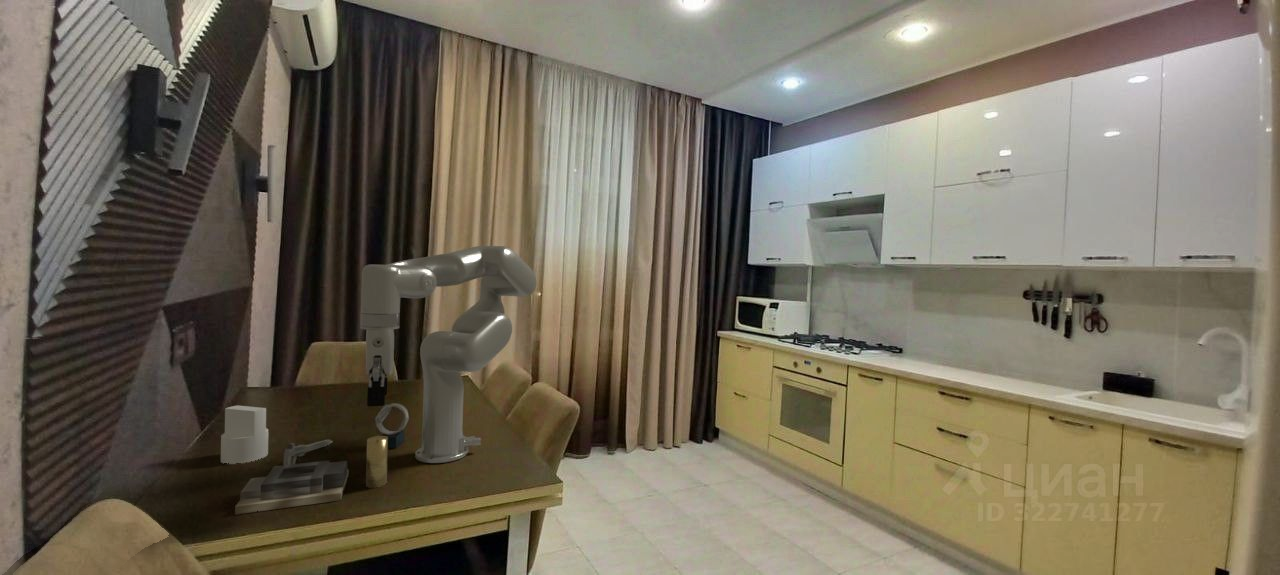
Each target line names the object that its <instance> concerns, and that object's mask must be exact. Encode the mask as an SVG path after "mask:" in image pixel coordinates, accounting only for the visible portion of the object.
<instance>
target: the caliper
mask: <svg viewBox="0 0 1280 575" xmlns="http://www.w3.org/2000/svg"><path fill="white" fill-rule="evenodd" d="M333 442H334V441H333V440H331V439H324V440H320V441H317V442H316V441H315V442H312V443H309V444H300V445H296V442H290V443H287V444H286V448H285V449H284V453H283V459H282V460H283V463H282V464H283V465H291V464H296V462H297V461H296V460H297V458H302V457H305V456H306V453H308V452H311V451H314V450H319V449H321V448H324V447H325V448H326V447H328V446H329V445H330V444H332V443H333ZM327 445H328V446H327Z"/></svg>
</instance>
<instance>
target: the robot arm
mask: <svg viewBox="0 0 1280 575" xmlns="http://www.w3.org/2000/svg"><path fill="white" fill-rule="evenodd" d="M479 278H481V279H480V295H479V298H478V301H476V302H475V304H474V305H472V306H471V307H469V308H468V309H467V310H465V312H463V313H462V314H460V316H459V317H457V318H456V320H455V321H454V323H453V324H452V327H451V330H448V331H447V330H438V331H434V332H431V333H429V334H428V335H426V336H425V337H424V338H423V340H422V342H421V344H420V347H419V348H420V350H419V351H420V352H419V354H420V361H421V366H422V374H423V394H422V396H423V398H422V402H423V403H422V433H421V435H422V436H421V447H419V448H418V449H416V450H415V452H414V458H415V459H416V460H417V461H419V462H421V463H427V464H442V463H443V464H444V463H449V462H455V461H457V460H460V459H462V458H464V457H466V455H468V453H469V446H470V447H471V446H481V445H482V438H481V437H476V436H475V435H473V436H471V435H470V436H465V435H464V431H463V419H464V418H463V417H464V413H463V412H464V390H465V388H464V381H463V380H464V379H463V377H462V375H461V372H464V373H475V372H479V371H481V370H483V369H484V368H485V367H486V366H487V365H488V364H489V363H491V361H492V360H493V359H494V358H496V356H498V354H499V353H501V352H502V350H503V349H504V348H505V347H506V346H507V344H508V343H509V341H510V339H511V337H512V332H513V323H512V321H511V319H510V317H508V315H506V314H505V306H504V303H503V301H502V297H518V298H519V297H520V298H521V297H522V298H523V297H528V296H530V295H532V294H534V292H535V290H536V287H537V277H536V274H535V273H534V271H533V270H532V268H531V267H530V266H529V265H528V264H527V263H526V262H525V261H524V260H523V259H522V258H521V256H519V255H518V253H516V252H515V251H514V250H513V249H511V248H509V247H507V246H503V245H479V246H478V245H477V246H471V247H468V248H463V249H460V250H456V251H452V252H447V253H441V254H433V255H430V256H425V257H424V256H423V257H418V258H412V259H411V258H410V259H405V260H401V261H396V262H392V263H388V264H371V263H370V264H366V265H365V266H364V267H363V268H362V272H361V291H360V293H361V294H360V295H361V296H360V300H361V301H360V320H359V321H360V323H359V329H360V330H366V331H365V332H366V333H365V371H366V372H365V374H366V376H367V377H369V379H368V386H367V399H366V401H367V402H366V406H367V407H368V408H369V407H370V408H371V407H384V406H385V405H386V404H385V400H386V396H387V394H388V376H389V377H390V376H392V375H393V373H394V363H395V362H394V358H395V357H394V356H395V330H398V329H400V315H401V314H400V312H401V310H400V309H401V298H406V299H423V298H427V297H428V296H430V295H431V294H433V293H434V291H435V290H436V288H437V287H442V288H443V287H451V286H452V287H453V286H459V285H461V284H464V283H468V282H471V281H474V280H477V279H479ZM387 375H388V376H387Z"/></svg>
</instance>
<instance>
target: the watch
mask: <svg viewBox="0 0 1280 575" xmlns="http://www.w3.org/2000/svg"><path fill="white" fill-rule="evenodd" d="M392 407H394V408H397V409H399V410H400V411H401V412H402V413H403V420H402V422H401V424H400V426H399V427H398V429H397V430H396V429H395V430H394V429H391V430H390V429H389V430H388V429H386V428H385V427H384V425H383V422H384V420H385V419H386V418H387V417H388V416H389V414H390V413H391V410H392ZM409 416H410V415H409V411H408V409H407V408H406V407H405V406H404V405H403V404H401V403H398V402H397V403H396V402H392V403H390V404H384V405H383V406H382V407H381V409H380V411H379V412H378V413H377V415H376V417H375V419H374V421H375V425H376V428H377V430H378V431H379V432H380V433H382V434H380V436H387V437H388V448H395V450H396V449H397V448H398V446H399V447H400V446H401V445H402V444H403V443H405V432H406V431H405V430H404V429H405V427H406V425H407V424H408V422H409V419H410V417H409Z"/></svg>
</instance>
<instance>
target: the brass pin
mask: <svg viewBox="0 0 1280 575" xmlns="http://www.w3.org/2000/svg"><path fill="white" fill-rule="evenodd" d="M365 466H366V468H365V469H366V470H365V476H366V477H365V487H366V488H367V487H368V488H367V489H377V488H376V487H379V488H381V486H382V487H384V486H386V485H387V484H386V483H388V437H387V436H381V435H375V436H372V437H368V438H367V440H366V465H365ZM385 484H386V485H385ZM383 485H384V486H383Z"/></svg>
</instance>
